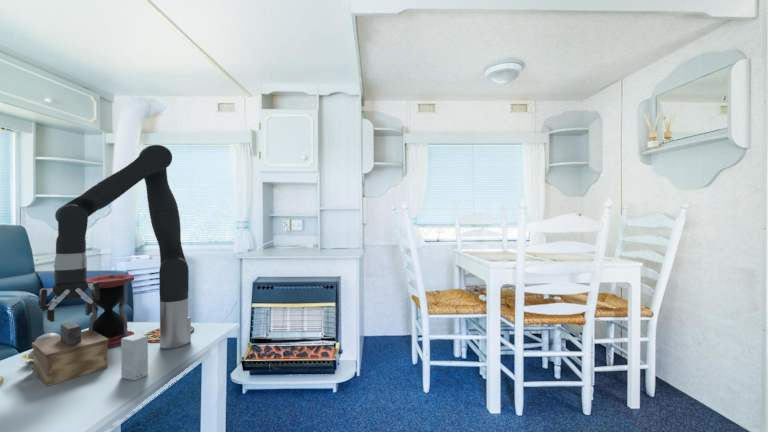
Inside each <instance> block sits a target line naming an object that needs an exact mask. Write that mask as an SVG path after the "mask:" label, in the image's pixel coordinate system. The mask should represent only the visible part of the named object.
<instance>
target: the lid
mask: <svg viewBox="0 0 768 432" xmlns="http://www.w3.org/2000/svg"><path fill="white" fill-rule="evenodd" d="M107 343H109V339H108V338H106V337H104V336H102V335H100V334H98V333H97V332H95V331H93V330H89V329H88V330H83V331H82V326H81V325H79V324H78V323H76V322H74V321H71V322H65V323H61V324H60V337H55V338H51V339H46V340H42V341H37V342H35V341H34V342H31V347H32V349H33V348H34V349H35V350H36V351H38V352H39V353H40V354H41V355H42V356H43V357H44V358H46V359H48V358H52V357H56V356H60V355H64V354H68V353H72V352H76V351H79V350H83V349H87V348H91V347H95V346H99V345H103V344H107Z"/></svg>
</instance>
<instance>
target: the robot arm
mask: <svg viewBox="0 0 768 432" xmlns="http://www.w3.org/2000/svg"><path fill="white" fill-rule="evenodd" d="M172 161H173V153H172V152H171V150H170V149H168V147H167V146H165V145H162V144H151V145H148V146H147V147H144V148H143V149H142V150H141V151H140V153H139V155H138V157H137V158H136V159H134V160H133V161H132V162H131V163H128V165H126V166H125V167H123V168H121V169H120V170H118V171H116V172H115V173H113V174H111V175H109V176H107V177H106V178H104V179H103V180H101V181H99V182H98V183H96V184H95V185H93V186H91V187H90V188H89V189H87V190H86V191H85V192H84V193H82V194H81V195H79V196H77V197H76V198H74V199H72V200H71V201H68V202H67V203H65V204H63V205H62V206H61V207H59V208H58V209H57V210H56V211H55V216H54V218H55V220H56V222H57V237H56V240H55V257H54V265H53V268H54V273H53V274H54V280H53V281H54V282H53V284H54V285H53V287H52V288H51V287H50V288H43V287H42V288H40V289H39V293H38V304H37V307H38V308H39V309H40V310H46V320H47V321H48V322H50V323H53V322H55V307H57V305H58V304H60V302H62V301H69V300H72V299H74V300H76V299H79V298H81V299H83V301H84V302H85V303H84V315H85V316H91V314H92V304H93V302H95V301H98V300H100V291H99V283H97V282H93V283H90V284H87V282H86V278H88V277H87V272H88V271H87V269H88V267H87V263H88V261H87V260H88V259H87V253H86V251H87V249H86V248H87V241H86V240H87V239H86V235H87V228H88V223H89V219H88V218H89V217H90V216H91V215H93V214H94V213H96V212H97V211H99V210H101V209H103V208H106V207H107V206H108V205H110V204H111V203H113V202H114V201H116V200H117V199H118V198H120V197H121V196H122V195H123V194H125V193H126V192H128V191H129V190H130V189H132V187H134V186H135V185H137V184H139V182H141V181H142V180H144V182H145V188H146V197H147V205H148V212H149V218H150V222H151V223H150V224H151V227H152V229H153V234H154V236H155V238H156V241H157V243H158V248H159V257H160V258H159V259H160V262H159V263H160V266H159V267H160V268H159V271H158V272H159V273H158V274H159V277H158V279H159V281H158V282H159V283H158V284H159V286H158V287H159V347H160V348H161V349H165V350H166V349H167V350H168V349H169V350H170V349H177V348H181V347H183V346H186V345H187V344H189V343H191V342H192V329H191V328H192V326H191V325H192V320H191V319H192V318H191V317H190V316H189V292H190V291H189V287H190V285H189V277H190V276H189V275H190V274H189V271H190V270H189V265H188V262H187V259H186V257H185V253H184V249H183V246H182V241H181V239H182V238H181V231H182V230H181V220H180V219H181V217H180V211H179V207H178V203H177V199H176V198H175V196H174V194H173V191H172V189H171V188H170V184H169V180H168V169H167V168H168V167H169V166H171V163H172ZM88 287H90V289H92V292H93V297H92V298H89V296H88V294H87V293H85V292H86V291H87V289H88ZM51 293H53V294H54V295H55V296H54V297H53V298H52V299H51V300H50V302H49V303H48V304H47V298H48V296H50V295H51Z"/></svg>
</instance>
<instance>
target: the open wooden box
mask: <svg viewBox="0 0 768 432" xmlns="http://www.w3.org/2000/svg"><path fill="white" fill-rule="evenodd" d="M32 351H33V359H32V360H33V369H32V370H33V373H34V374H35V375H36V376H37V377H38V379H40V380H41V381H42V382H43V383H44V384H45V385H46V386H47V387H49V386H52V385H53V386H54V385H56V384H60V383H62V382H66V381H68V380H71V379H75V378H79V377H82V376H86V375H88V374H89V375H90V374H92V373H94V372H98V371H101V370H105V369H107V368H109V367H108V363H109V362H108V358H109V357H108V348H107V344H103V345H99V346H95V347H91V348H87V349H83V350H79V351H76V352H72V353H68V354H64V355H60V356H56V357H52V358H48V359H46V358H44V357H43V356H42V355H41V354H40V353H39V352H38V351H36V350H35V349H34V348H33V347H32Z"/></svg>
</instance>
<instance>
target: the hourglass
mask: <svg viewBox="0 0 768 432" xmlns="http://www.w3.org/2000/svg"><path fill="white" fill-rule="evenodd" d="M133 281H135V275H134V274H127V273H124V274H107V275H98V276H92V277H86V282H87V284H90V283H93V282H97V283H99V291H100V300H98V301H95V302H93V304H92V313H91V314H90V318H89V324H88V330H93V331H95V332H97V333H98V334H100V335H102V336H104V337H106V338H108V339H109V343H107V349H109V348H110V349H111V348H115V347H118V346H121V339H122V338H124V337H128V336H131V335H134V334H135V333H134V331H132V330H128V318H127V311H126V310H125V306H126V305H127V302H128V283H130V282H133ZM87 289H88V294H87V296H89V298H92V297H93V292H92V289H90V287H88V288H87ZM117 305H118V312H119V313H118V312H116V311H115V310H113V309H114V308H115V307H116V306H117ZM98 307H99V308H101V309H102V310H104V311H103V312H102V313H101V314H100V315H99V316H98V313H99V312H98V311H99V308H98Z"/></svg>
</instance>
